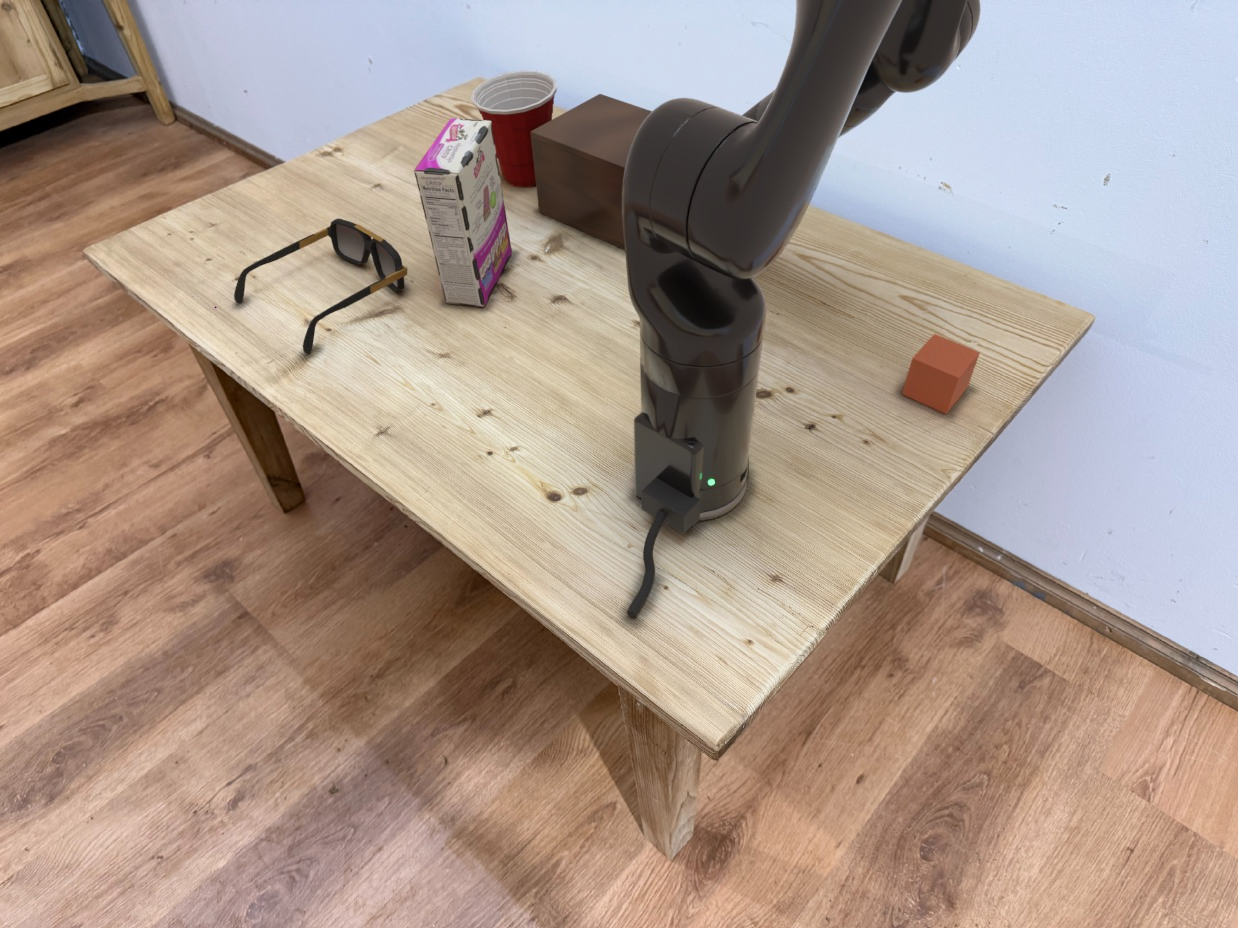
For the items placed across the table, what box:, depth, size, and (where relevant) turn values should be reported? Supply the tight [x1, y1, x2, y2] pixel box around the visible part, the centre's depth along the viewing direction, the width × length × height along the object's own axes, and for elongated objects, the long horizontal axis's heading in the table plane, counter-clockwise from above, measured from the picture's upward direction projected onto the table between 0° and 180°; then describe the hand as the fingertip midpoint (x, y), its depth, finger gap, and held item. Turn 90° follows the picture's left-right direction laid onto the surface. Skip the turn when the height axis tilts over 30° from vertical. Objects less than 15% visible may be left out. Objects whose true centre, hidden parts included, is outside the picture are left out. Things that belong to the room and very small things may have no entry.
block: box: [901, 333, 981, 415], centre depth 81 cm, size 5×5×5 cm
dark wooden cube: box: [531, 93, 653, 251], centre depth 103 cm, size 15×13×11 cm
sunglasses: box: [233, 218, 408, 355], centre depth 94 cm, size 14×15×5 cm
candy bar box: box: [413, 117, 513, 308], centre depth 92 cm, size 11×5×16 cm, turn 168°
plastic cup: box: [471, 70, 558, 188], centre depth 109 cm, size 11×11×12 cm
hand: (687, 199), depth 98 cm, fingers closed on drawer, 5 cm apart
